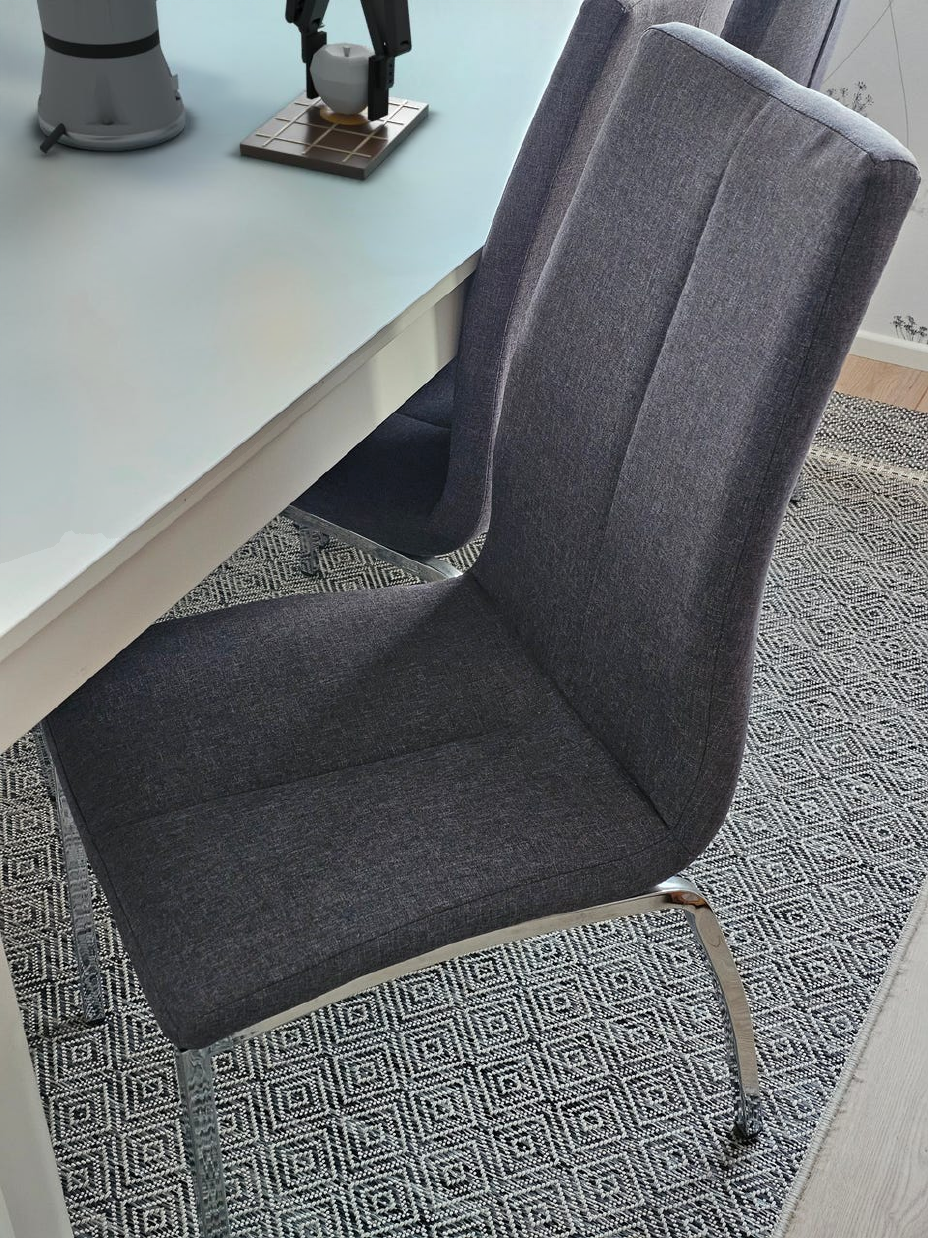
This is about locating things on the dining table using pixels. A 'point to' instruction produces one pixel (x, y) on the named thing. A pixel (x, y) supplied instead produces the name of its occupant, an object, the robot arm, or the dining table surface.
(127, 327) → the dining table surface
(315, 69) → the apple
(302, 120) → the board
